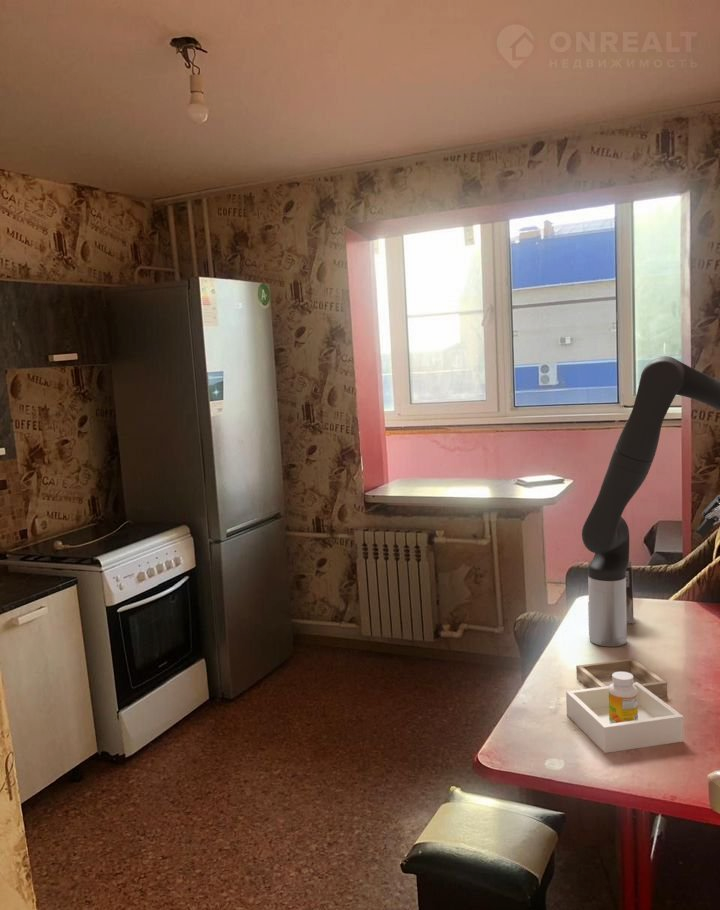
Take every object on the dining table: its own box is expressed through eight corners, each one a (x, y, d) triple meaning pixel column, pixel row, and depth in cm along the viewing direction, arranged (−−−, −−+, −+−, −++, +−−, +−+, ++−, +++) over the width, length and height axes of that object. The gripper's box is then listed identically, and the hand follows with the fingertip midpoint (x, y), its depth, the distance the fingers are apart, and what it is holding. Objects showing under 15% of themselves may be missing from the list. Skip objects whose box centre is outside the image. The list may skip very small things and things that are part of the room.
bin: (566, 714, 152) (566, 691, 152) (637, 704, 155) (637, 682, 154) (604, 752, 137) (604, 727, 136) (683, 741, 139) (683, 716, 139)
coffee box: (633, 616, 208) (632, 561, 206) (633, 624, 202) (632, 567, 200) (599, 614, 211) (598, 560, 209) (598, 622, 205) (597, 566, 203)
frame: (576, 678, 170) (576, 665, 169) (632, 670, 172) (632, 658, 171) (606, 704, 156) (606, 690, 155) (667, 696, 158) (667, 682, 158)
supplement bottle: (604, 717, 148) (603, 671, 147) (630, 715, 148) (629, 668, 147) (615, 730, 143) (615, 682, 142) (642, 727, 143) (642, 679, 142)
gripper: (726, 468, 166) (680, 522, 166) (771, 476, 152) (721, 535, 152) (747, 489, 168) (702, 543, 167) (794, 499, 154) (744, 557, 153)
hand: (711, 539), depth 159 cm, fingers open, 8 cm apart
